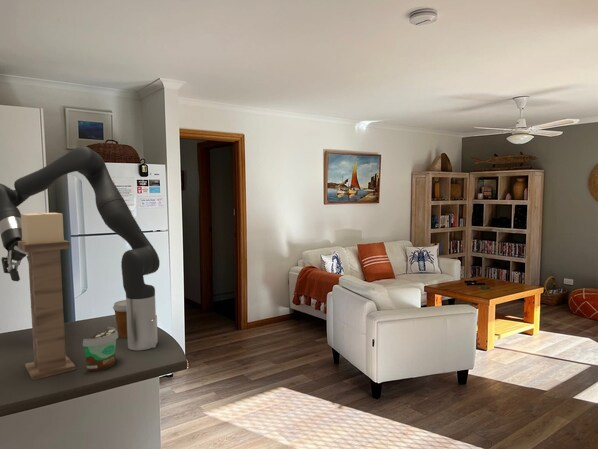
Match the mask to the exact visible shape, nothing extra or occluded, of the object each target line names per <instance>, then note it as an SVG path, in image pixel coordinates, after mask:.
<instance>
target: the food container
mask: <svg viewBox="0 0 598 449" xmlns="http://www.w3.org/2000/svg"><path fill="white" fill-rule="evenodd" d="M118 338H119V333H118V330H117V329H116V328H115V327H113V326H107V329H106V330H105V331H103V332H99V333H96V334H94V336H92V337H91V338H83V341H82V347H84V354H85V362H86V371H87V372H94V371H95V372H97V371H102V370H106V369H108V368H112V367H113V366H114V365H115V364H116V351H117V350H116V348H117V347H116V346H117V339H118Z"/></svg>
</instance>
